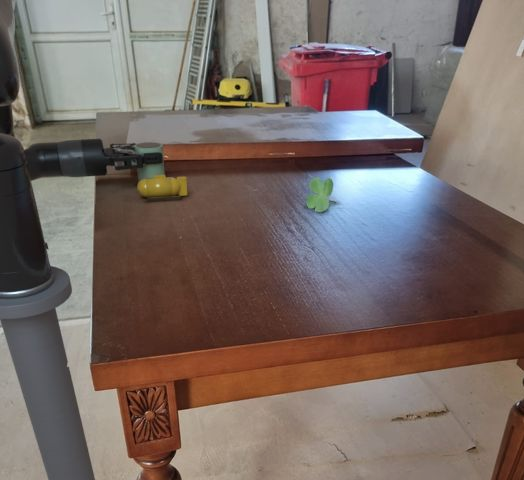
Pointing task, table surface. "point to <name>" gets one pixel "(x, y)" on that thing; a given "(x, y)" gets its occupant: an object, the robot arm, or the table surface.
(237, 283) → the table surface
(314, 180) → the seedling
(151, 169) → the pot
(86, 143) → the robot arm
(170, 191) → the yellow toy submarine
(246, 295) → the table surface
